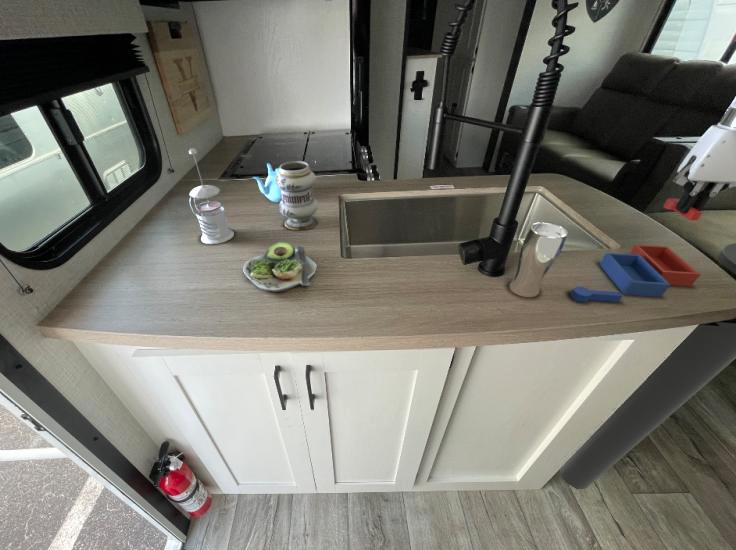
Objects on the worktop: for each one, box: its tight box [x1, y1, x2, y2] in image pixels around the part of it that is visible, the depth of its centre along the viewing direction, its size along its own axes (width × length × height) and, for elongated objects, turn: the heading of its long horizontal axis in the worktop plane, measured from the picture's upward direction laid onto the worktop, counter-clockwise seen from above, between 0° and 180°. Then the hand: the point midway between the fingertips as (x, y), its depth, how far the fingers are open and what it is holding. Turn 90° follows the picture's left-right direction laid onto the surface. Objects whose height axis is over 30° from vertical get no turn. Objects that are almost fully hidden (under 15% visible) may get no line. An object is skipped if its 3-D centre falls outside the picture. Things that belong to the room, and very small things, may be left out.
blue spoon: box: [569, 285, 623, 303], centre depth 70 cm, size 9×3×2 cm, turn 80°
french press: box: [188, 147, 235, 245], centre depth 91 cm, size 10×12×25 cm
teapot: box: [252, 162, 282, 203], centre depth 118 cm, size 15×15×10 cm
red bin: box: [628, 244, 702, 287], centre depth 77 cm, size 12×7×3 cm, turn 170°
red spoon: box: [663, 197, 703, 221], centre depth 74 cm, size 9×3×2 cm, turn 168°
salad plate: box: [242, 241, 317, 293], centre depth 80 cm, size 19×18×5 cm
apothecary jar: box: [275, 160, 319, 231], centre depth 98 cm, size 12×12×18 cm
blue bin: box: [599, 252, 671, 298], centre depth 75 cm, size 12×7×3 cm, turn 170°
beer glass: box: [508, 221, 569, 298], centre depth 69 cm, size 7×7×15 cm
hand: (685, 211), depth 73 cm, fingers closed on red spoon, 1 cm apart
